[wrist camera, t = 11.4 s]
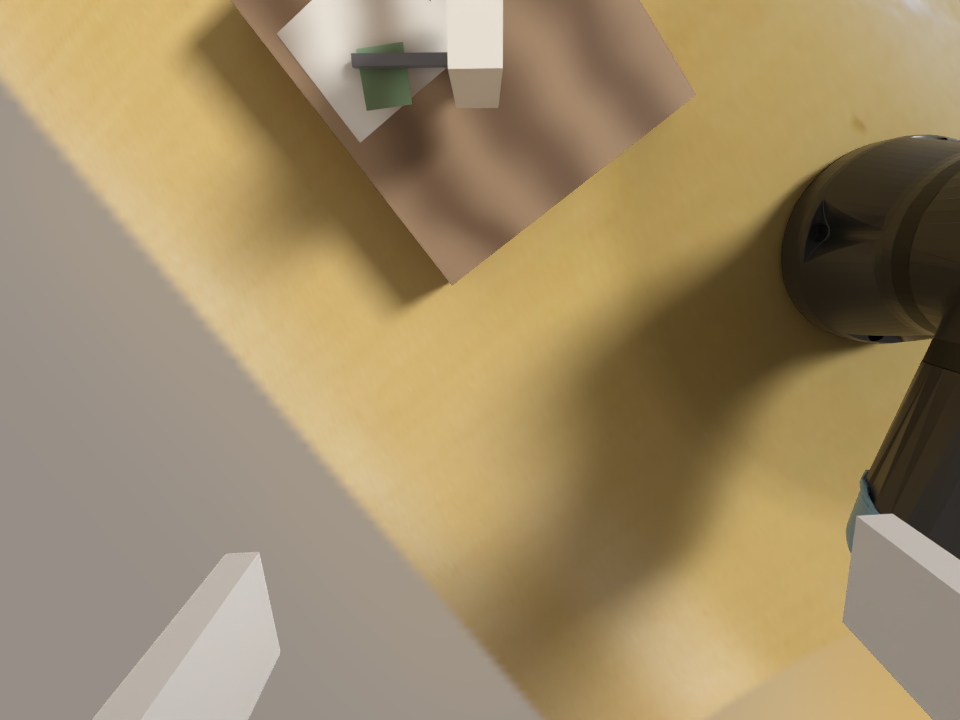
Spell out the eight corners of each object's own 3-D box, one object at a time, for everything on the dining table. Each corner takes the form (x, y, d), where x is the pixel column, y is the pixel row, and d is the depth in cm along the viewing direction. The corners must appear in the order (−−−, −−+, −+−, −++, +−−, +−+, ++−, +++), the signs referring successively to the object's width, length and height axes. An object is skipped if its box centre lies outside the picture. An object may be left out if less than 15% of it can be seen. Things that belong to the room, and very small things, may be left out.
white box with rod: (350, -1, 30) (279, -125, 20) (496, -3, 30) (503, -128, 20) (358, 123, 32) (296, 70, 22) (496, 122, 32) (502, 68, 21)
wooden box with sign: (469, -209, 32) (466, -290, 27) (668, 113, 36) (696, 94, 32) (246, 8, 35) (207, -29, 30) (455, 279, 40) (451, 285, 35)
